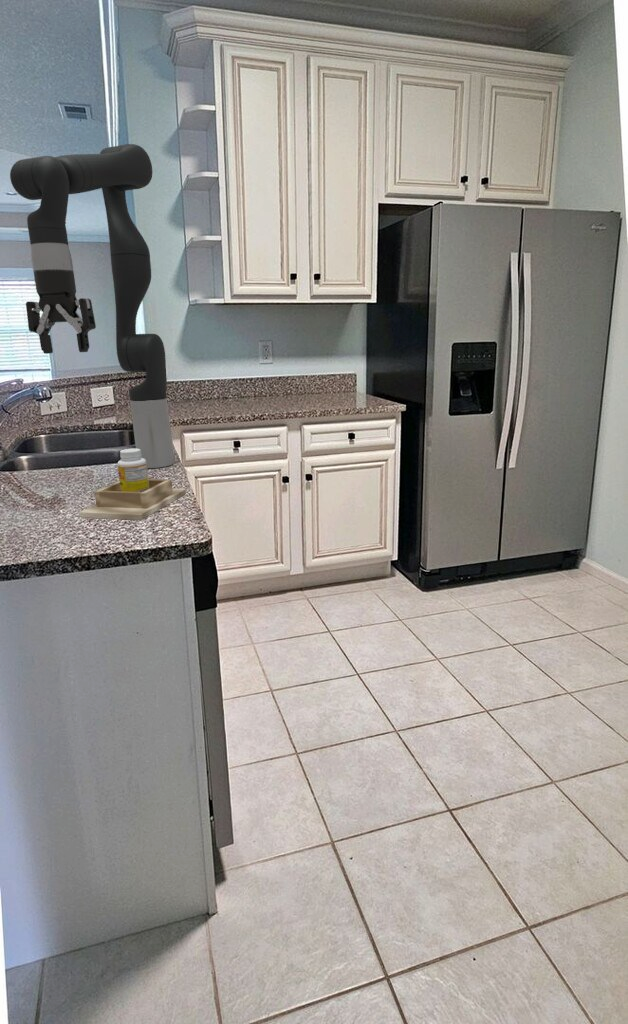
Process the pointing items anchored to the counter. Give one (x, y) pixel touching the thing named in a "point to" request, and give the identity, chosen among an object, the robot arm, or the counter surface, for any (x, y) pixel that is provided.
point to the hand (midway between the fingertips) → (65, 352)
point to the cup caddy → (132, 501)
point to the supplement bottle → (132, 471)
